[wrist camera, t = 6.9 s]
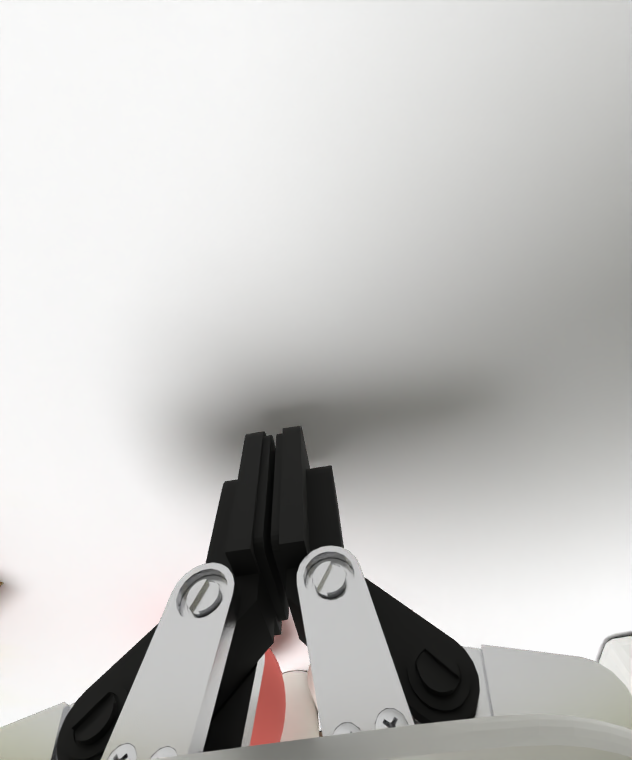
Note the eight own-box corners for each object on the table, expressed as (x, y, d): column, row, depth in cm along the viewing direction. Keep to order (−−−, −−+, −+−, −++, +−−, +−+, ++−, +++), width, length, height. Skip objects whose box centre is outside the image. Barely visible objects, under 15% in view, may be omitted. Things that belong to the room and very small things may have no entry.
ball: (242, 618, 21) (260, 582, 17) (293, 745, 18) (328, 736, 14) (127, 686, 18) (115, 660, 14) (163, 856, 15) (162, 884, 11)
